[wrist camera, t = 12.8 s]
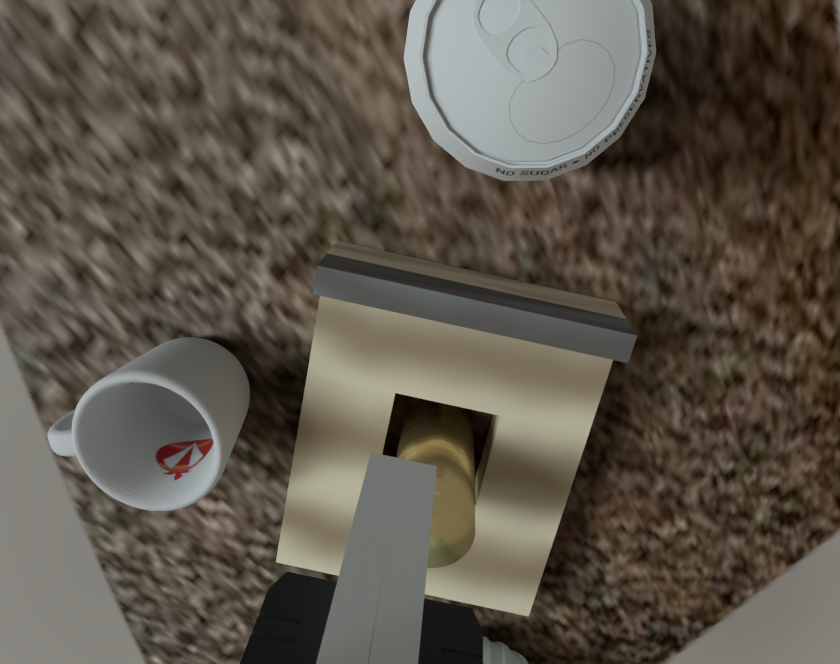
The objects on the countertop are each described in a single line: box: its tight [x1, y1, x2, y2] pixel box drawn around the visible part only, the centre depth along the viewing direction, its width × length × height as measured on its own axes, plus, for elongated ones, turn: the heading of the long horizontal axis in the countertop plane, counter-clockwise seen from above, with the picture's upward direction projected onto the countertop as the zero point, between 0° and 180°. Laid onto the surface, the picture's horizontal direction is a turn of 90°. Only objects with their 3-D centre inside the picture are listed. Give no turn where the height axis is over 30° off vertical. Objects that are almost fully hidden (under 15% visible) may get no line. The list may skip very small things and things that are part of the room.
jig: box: [276, 241, 637, 616], centre depth 41 cm, size 20×16×6 cm
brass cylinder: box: [396, 400, 475, 568], centre depth 39 cm, size 4×4×10 cm
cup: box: [48, 337, 250, 511], centre depth 40 cm, size 11×8×8 cm
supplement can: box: [404, 0, 656, 181], centre depth 29 cm, size 8×8×15 cm
